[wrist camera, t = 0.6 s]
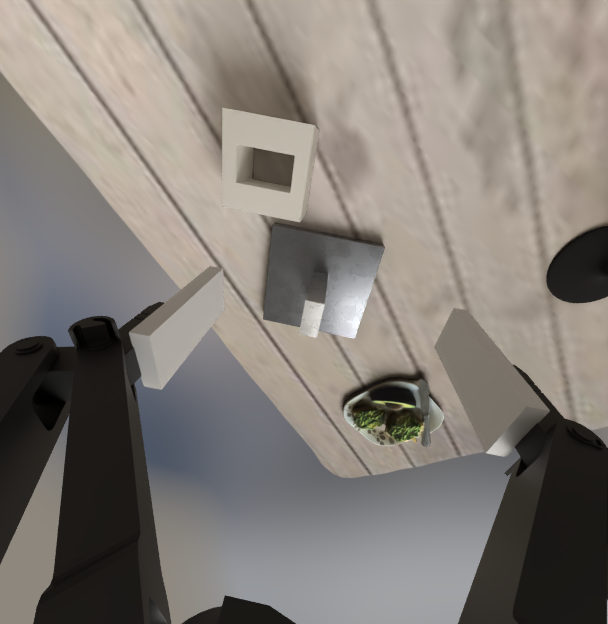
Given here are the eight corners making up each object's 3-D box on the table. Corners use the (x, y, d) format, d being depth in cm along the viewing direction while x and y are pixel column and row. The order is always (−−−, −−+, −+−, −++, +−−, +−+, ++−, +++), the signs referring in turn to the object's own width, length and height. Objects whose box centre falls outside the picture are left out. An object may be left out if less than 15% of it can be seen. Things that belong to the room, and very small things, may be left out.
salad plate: (464, 424, 51) (475, 447, 47) (384, 451, 58) (387, 473, 54) (413, 361, 45) (420, 381, 41) (331, 400, 52) (330, 420, 48)
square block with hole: (242, 116, 30) (222, 107, 25) (319, 131, 30) (314, 125, 24) (240, 199, 34) (222, 206, 29) (306, 213, 34) (299, 222, 29)
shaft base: (274, 222, 35) (252, 243, 26) (383, 244, 35) (397, 273, 26) (265, 314, 43) (245, 355, 34) (354, 333, 43) (357, 379, 34)
